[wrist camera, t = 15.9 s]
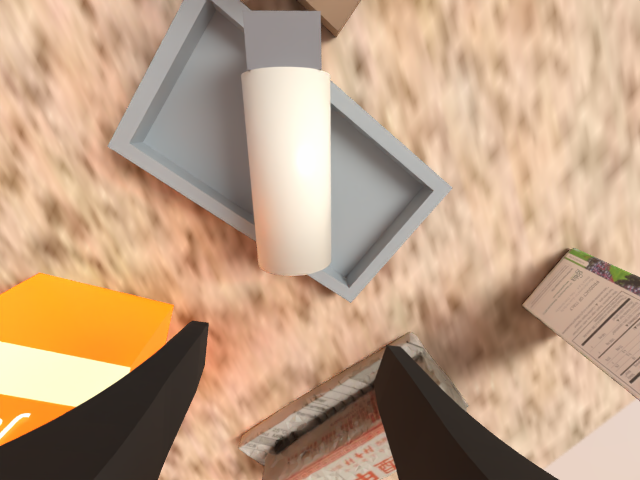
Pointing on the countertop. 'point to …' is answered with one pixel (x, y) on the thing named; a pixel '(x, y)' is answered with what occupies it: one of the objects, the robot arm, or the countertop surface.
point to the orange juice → (68, 346)
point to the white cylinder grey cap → (288, 140)
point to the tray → (232, 151)
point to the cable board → (332, 12)
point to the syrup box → (594, 313)
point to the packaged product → (336, 425)
